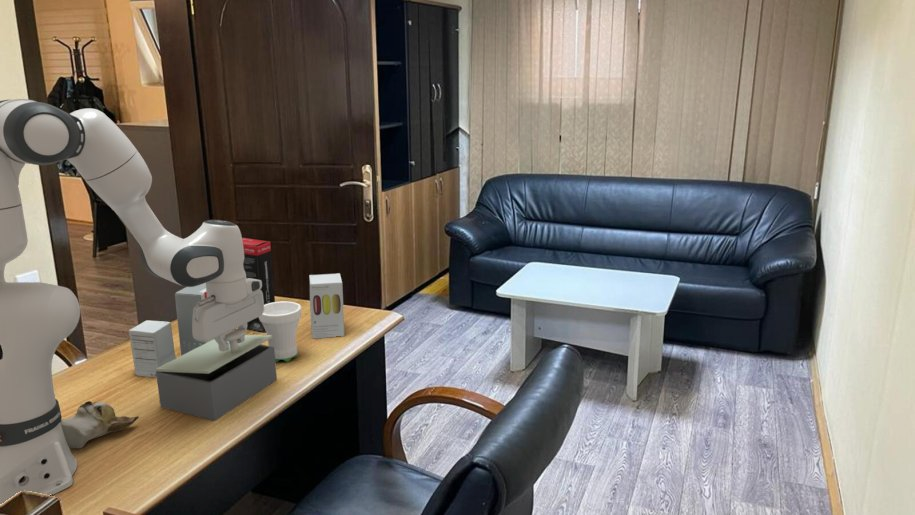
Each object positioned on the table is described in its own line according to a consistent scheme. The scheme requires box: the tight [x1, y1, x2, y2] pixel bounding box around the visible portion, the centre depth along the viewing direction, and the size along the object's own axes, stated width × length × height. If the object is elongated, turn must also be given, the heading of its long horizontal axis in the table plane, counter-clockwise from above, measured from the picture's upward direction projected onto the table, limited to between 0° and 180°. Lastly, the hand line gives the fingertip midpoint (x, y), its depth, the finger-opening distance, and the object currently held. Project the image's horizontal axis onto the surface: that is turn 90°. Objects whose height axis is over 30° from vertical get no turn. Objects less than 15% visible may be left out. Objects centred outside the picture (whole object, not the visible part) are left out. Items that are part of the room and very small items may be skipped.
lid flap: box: [155, 328, 273, 374], centre depth 160 cm, size 22×17×5 cm
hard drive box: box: [174, 283, 236, 356], centre depth 183 cm, size 16×8×20 cm, turn 168°
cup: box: [259, 300, 302, 363], centre depth 181 cm, size 11×11×14 cm
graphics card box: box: [242, 237, 276, 333], centre depth 202 cm, size 17×7×27 cm, turn 65°
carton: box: [156, 344, 278, 422], centre depth 162 cm, size 22×16×9 cm
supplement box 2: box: [308, 272, 345, 340], centre depth 198 cm, size 10×9×17 cm
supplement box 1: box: [128, 319, 177, 379], centre depth 173 cm, size 7×7×13 cm
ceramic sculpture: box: [61, 400, 139, 449], centre depth 143 cm, size 11×9×15 cm
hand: (232, 346), depth 158 cm, fingers open, 4 cm apart
